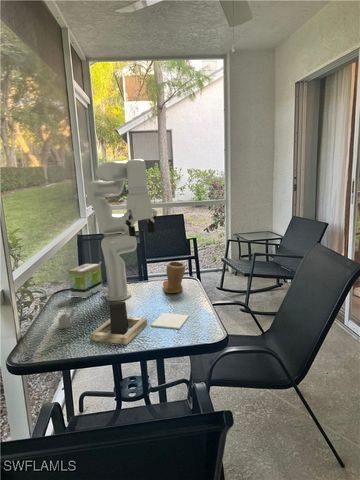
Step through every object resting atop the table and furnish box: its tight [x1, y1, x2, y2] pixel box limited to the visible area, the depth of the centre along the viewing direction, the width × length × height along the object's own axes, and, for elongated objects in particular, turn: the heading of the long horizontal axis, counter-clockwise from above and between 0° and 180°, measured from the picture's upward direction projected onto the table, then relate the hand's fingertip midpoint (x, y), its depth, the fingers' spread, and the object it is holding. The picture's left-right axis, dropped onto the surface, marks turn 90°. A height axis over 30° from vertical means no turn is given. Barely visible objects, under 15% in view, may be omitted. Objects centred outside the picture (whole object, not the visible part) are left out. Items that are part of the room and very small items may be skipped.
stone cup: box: [162, 261, 186, 294], centre depth 172 cm, size 15×12×15 cm
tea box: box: [68, 263, 103, 298], centre depth 175 cm, size 15×10×15 cm, turn 160°
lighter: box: [58, 306, 77, 329], centre depth 136 cm, size 7×2×8 cm, turn 100°
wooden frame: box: [89, 316, 148, 345], centre depth 128 cm, size 15×17×2 cm
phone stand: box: [108, 301, 130, 335], centre depth 127 cm, size 9×6×12 cm, turn 6°
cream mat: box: [150, 312, 190, 330], centre depth 135 cm, size 12×12×1 cm
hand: (142, 234), depth 133 cm, fingers open, 9 cm apart
